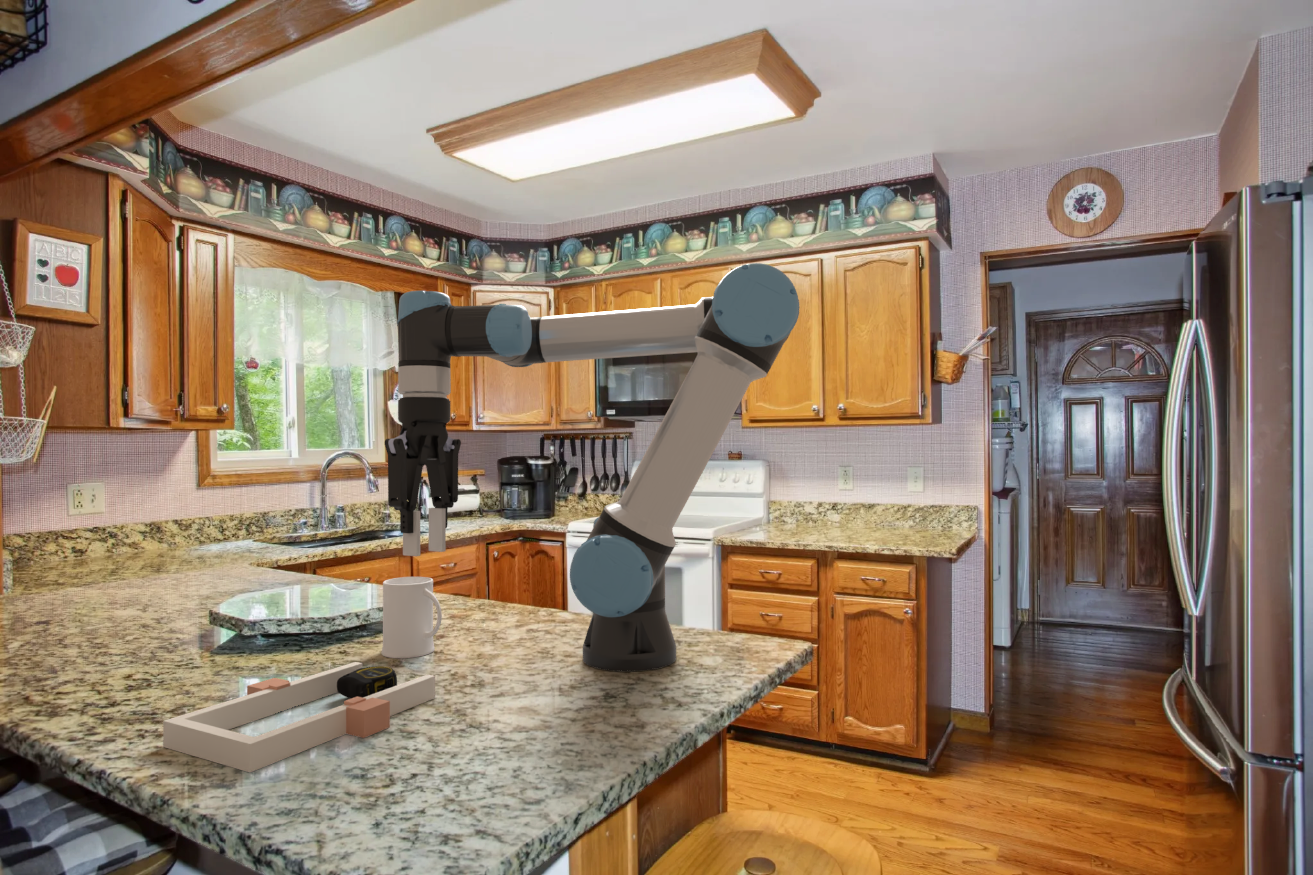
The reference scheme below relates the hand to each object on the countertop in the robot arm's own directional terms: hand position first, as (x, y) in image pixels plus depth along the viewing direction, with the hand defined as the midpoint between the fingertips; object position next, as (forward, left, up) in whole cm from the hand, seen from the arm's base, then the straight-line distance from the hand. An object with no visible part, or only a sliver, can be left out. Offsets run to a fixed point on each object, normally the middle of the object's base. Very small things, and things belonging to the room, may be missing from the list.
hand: (424, 552), depth 116 cm
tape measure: (0, +11, -19) cm, 22 cm away
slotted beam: (0, +19, -19) cm, 27 cm away
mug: (+12, -10, -19) cm, 25 cm away
